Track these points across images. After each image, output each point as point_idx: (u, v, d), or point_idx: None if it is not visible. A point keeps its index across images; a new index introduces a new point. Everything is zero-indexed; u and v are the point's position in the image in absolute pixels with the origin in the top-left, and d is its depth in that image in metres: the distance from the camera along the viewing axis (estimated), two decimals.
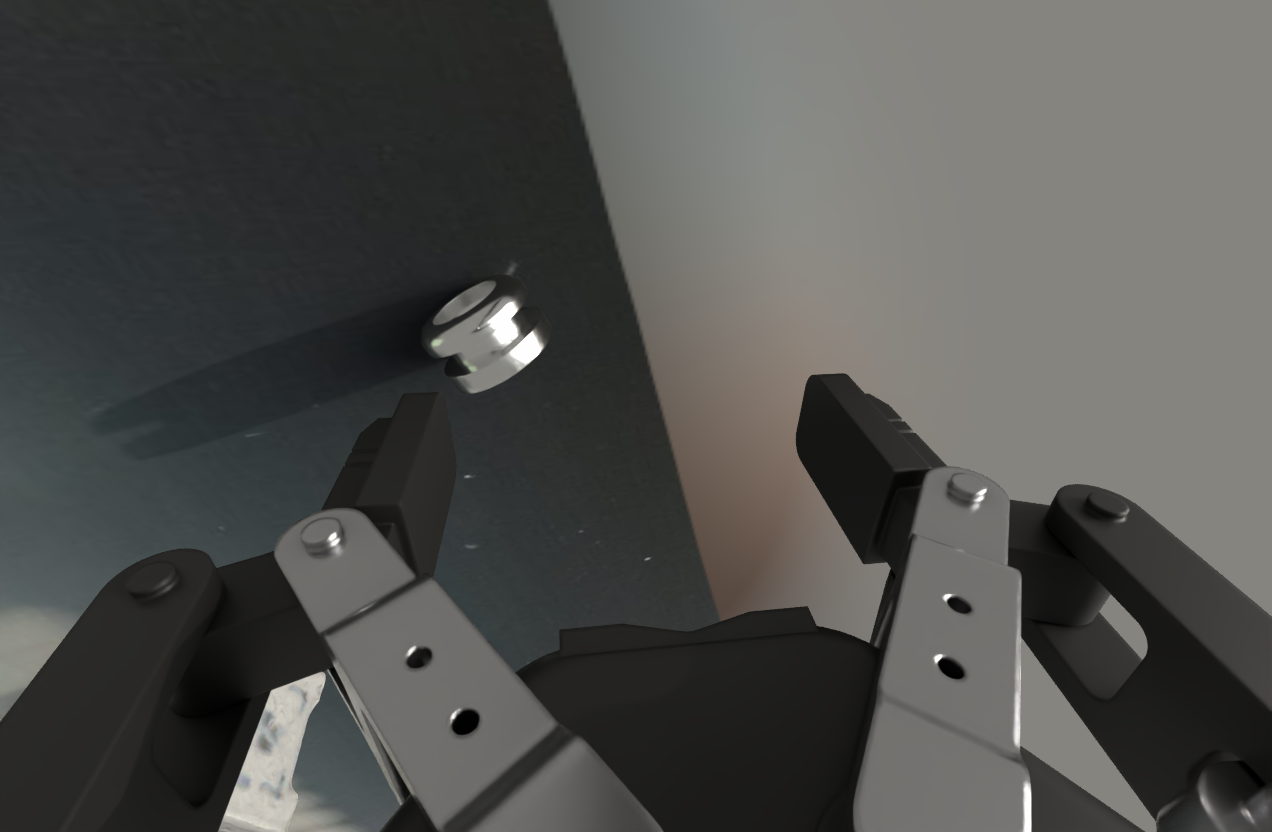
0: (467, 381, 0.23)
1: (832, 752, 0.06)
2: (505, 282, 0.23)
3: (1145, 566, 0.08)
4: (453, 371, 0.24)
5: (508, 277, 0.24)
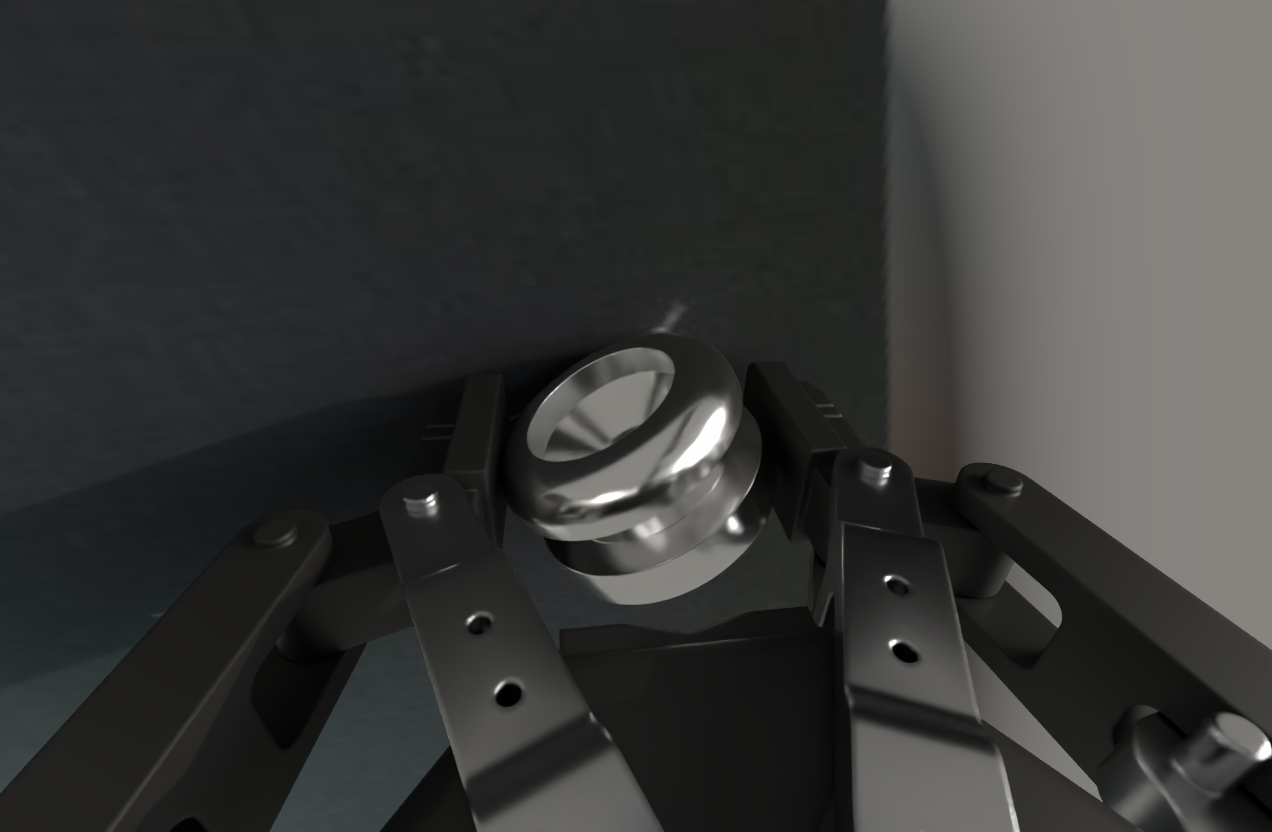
0: (610, 585, 0.10)
1: (832, 752, 0.06)
2: (701, 361, 0.10)
3: (1048, 537, 0.08)
4: (570, 549, 0.11)
5: (697, 345, 0.11)
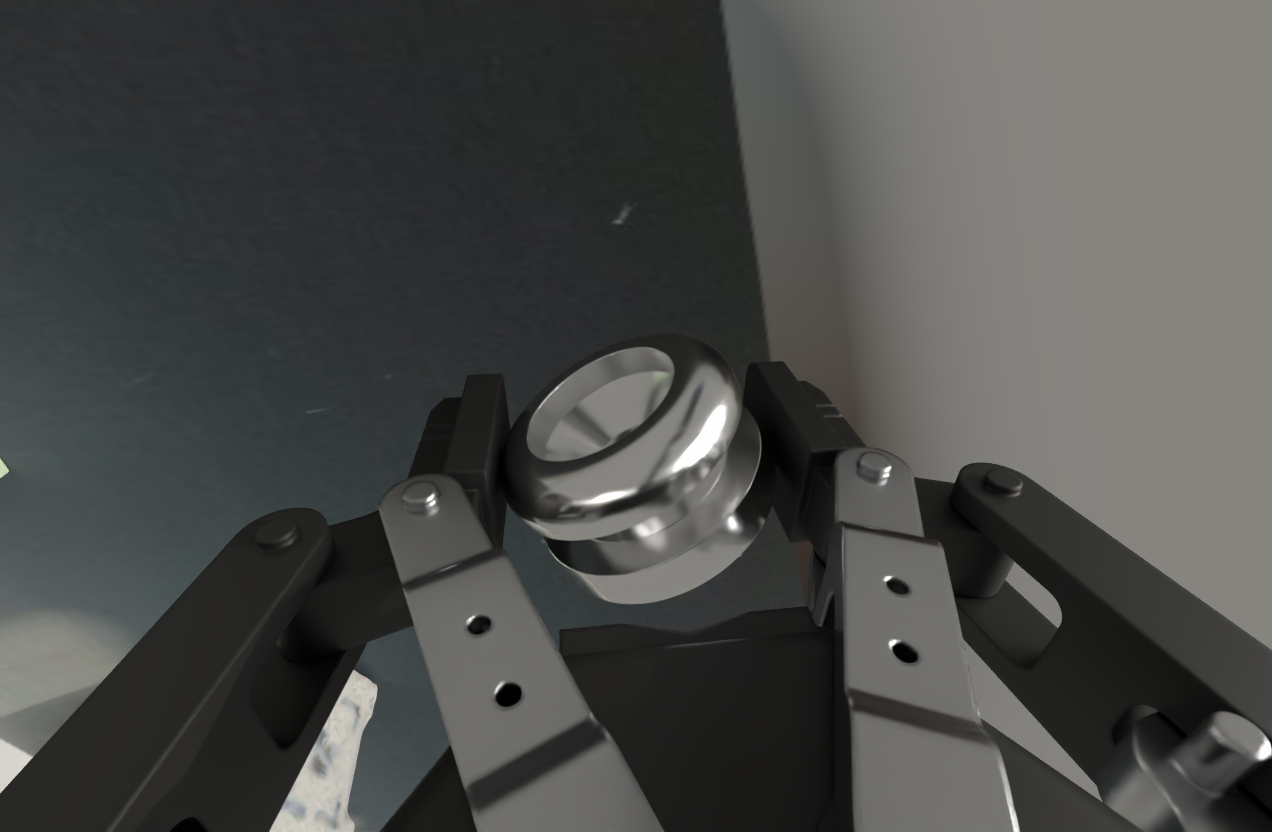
0: (610, 584, 0.10)
1: (833, 753, 0.06)
2: (700, 362, 0.10)
3: (1047, 537, 0.08)
4: (570, 549, 0.11)
5: (696, 345, 0.11)
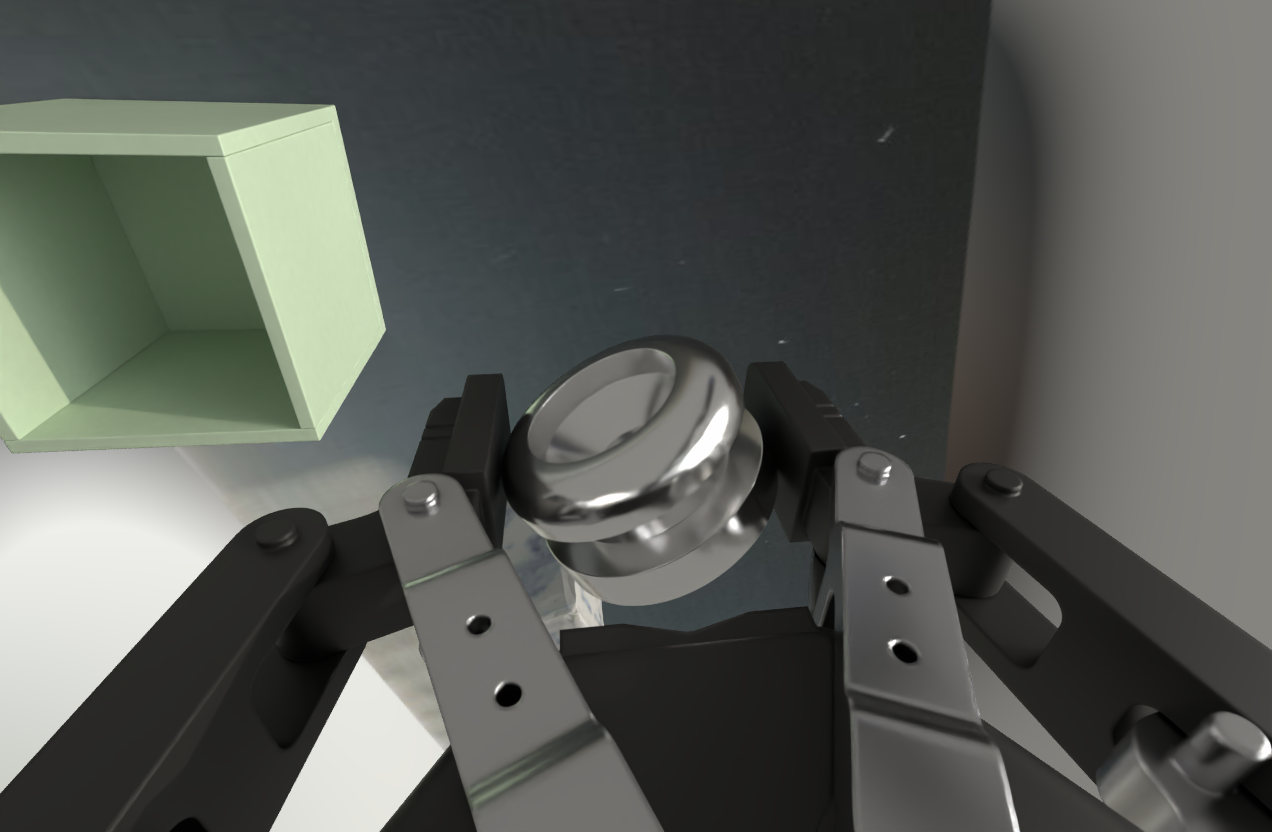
0: (612, 586, 0.10)
1: (833, 753, 0.06)
2: (702, 363, 0.10)
3: (1047, 537, 0.08)
4: (571, 550, 0.11)
5: (698, 346, 0.11)
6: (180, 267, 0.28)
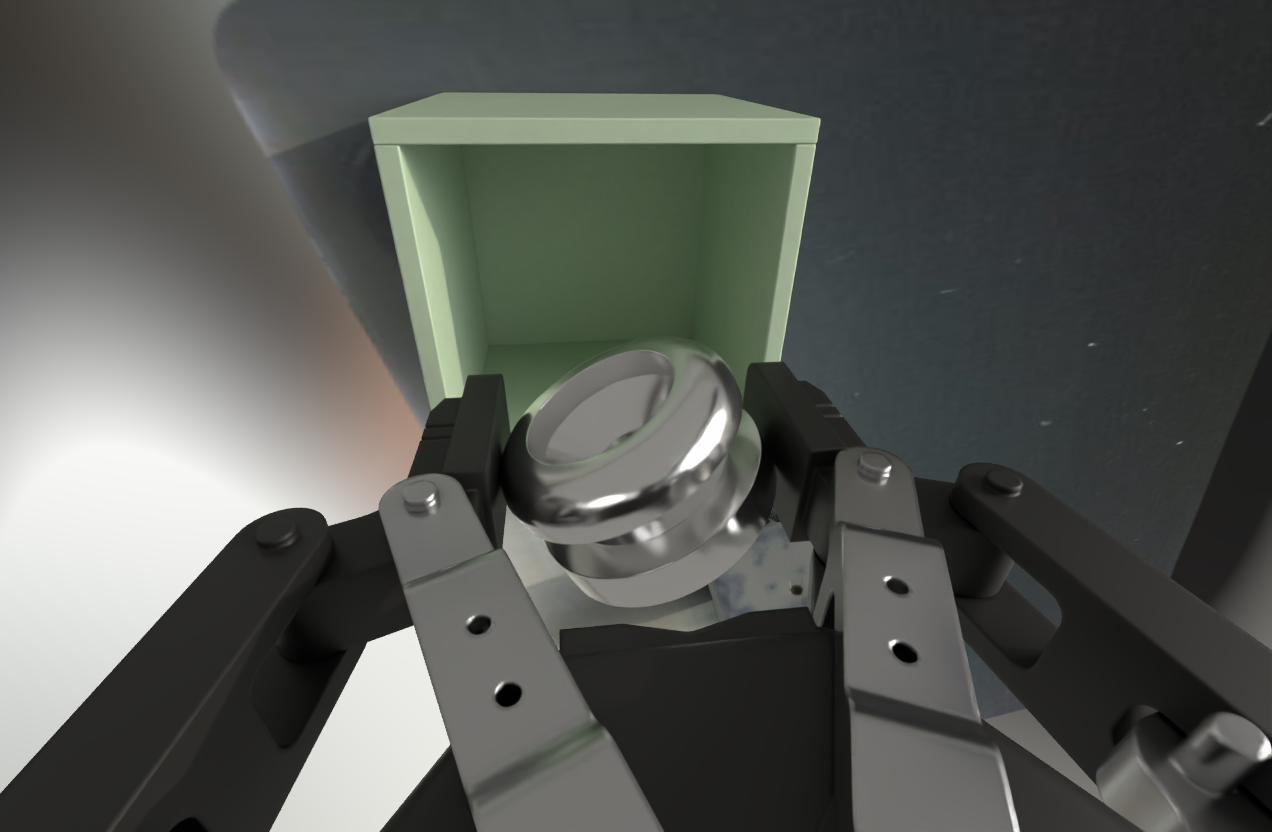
0: (610, 588, 0.10)
1: (832, 753, 0.06)
2: (701, 366, 0.10)
3: (1047, 537, 0.08)
4: (570, 552, 0.11)
5: (696, 348, 0.11)
6: (519, 276, 0.26)
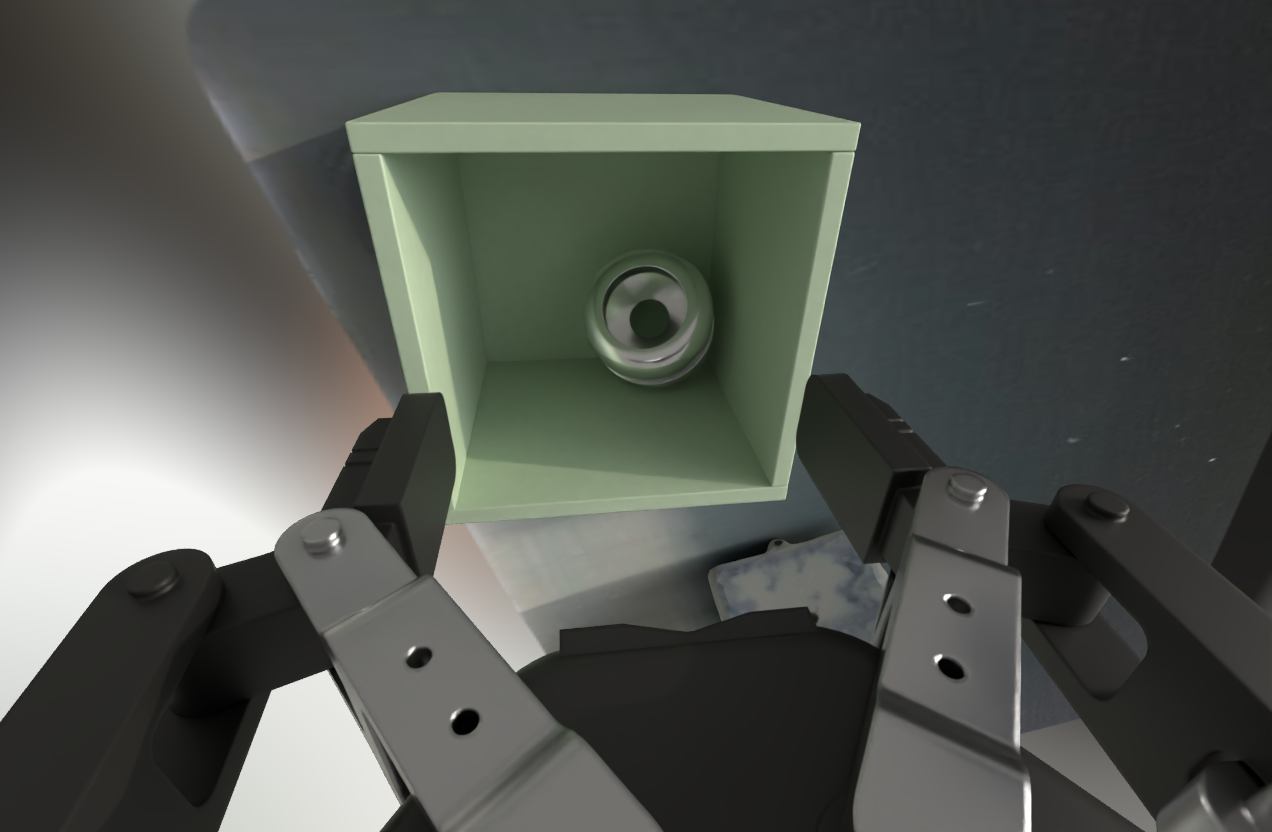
0: (662, 384, 0.23)
1: (833, 753, 0.06)
2: (694, 279, 0.21)
3: (1145, 566, 0.08)
4: None
5: (683, 265, 0.21)
6: (520, 289, 0.24)
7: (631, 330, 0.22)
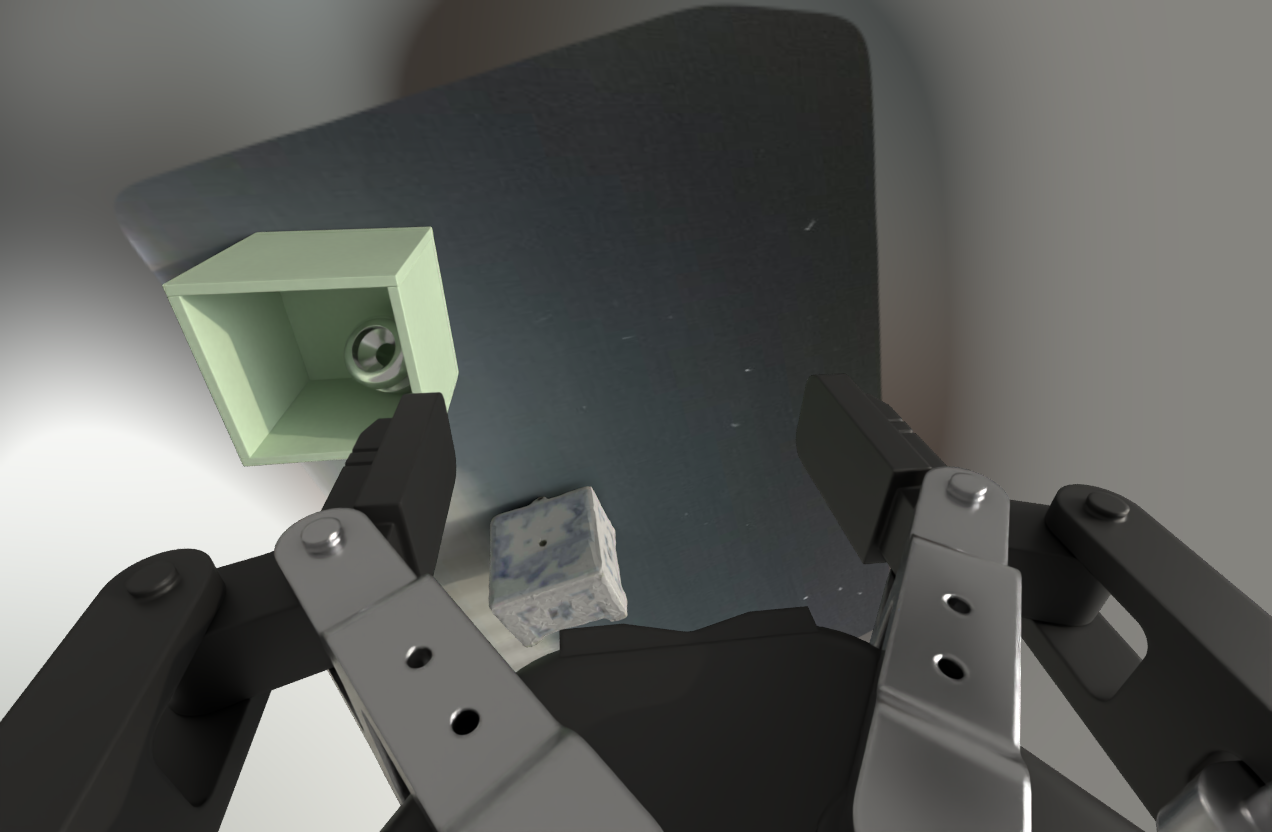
0: (397, 391, 0.39)
1: (833, 752, 0.06)
2: None
3: (1145, 566, 0.08)
4: None
5: (395, 324, 0.37)
6: (322, 336, 0.41)
7: (375, 361, 0.39)
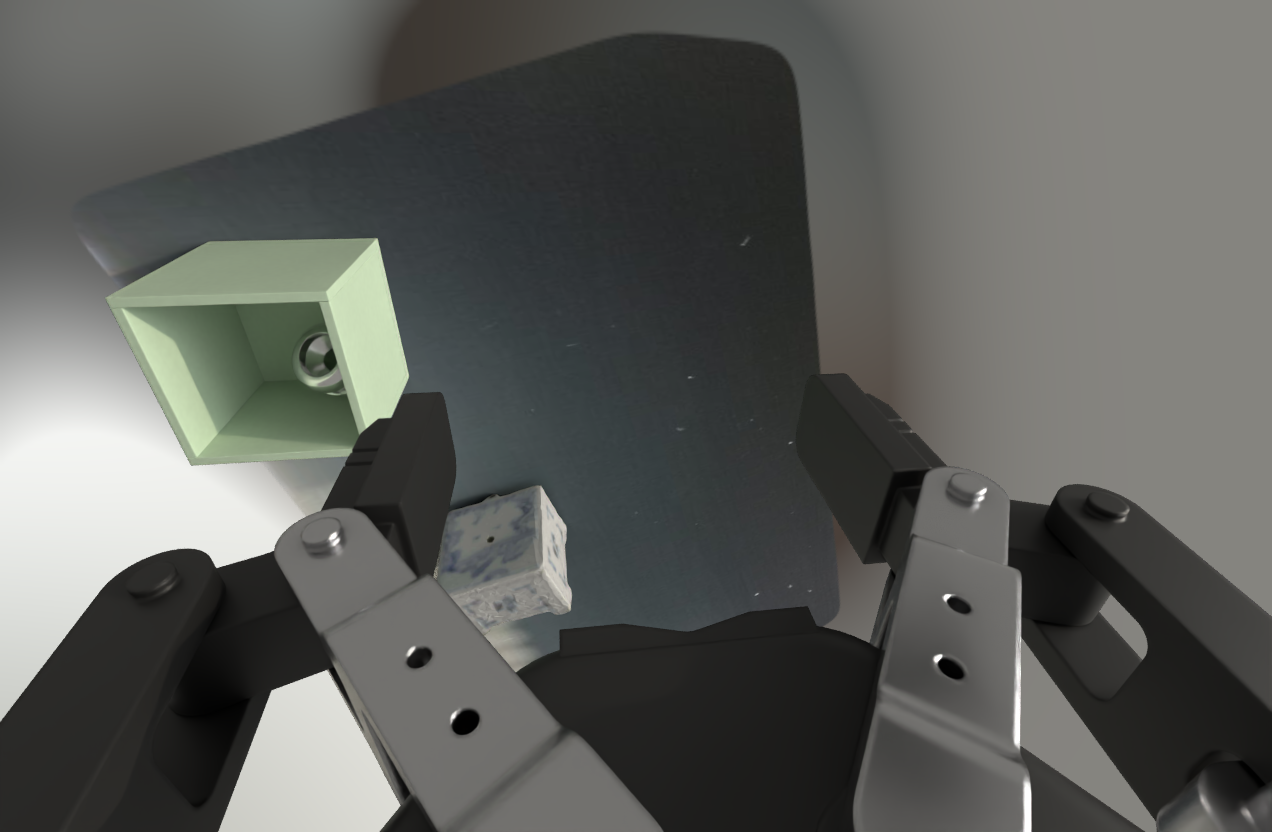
0: (344, 395, 0.41)
1: (832, 754, 0.06)
2: None
3: (1145, 566, 0.07)
4: None
5: None
6: (274, 340, 0.43)
7: (323, 365, 0.40)
